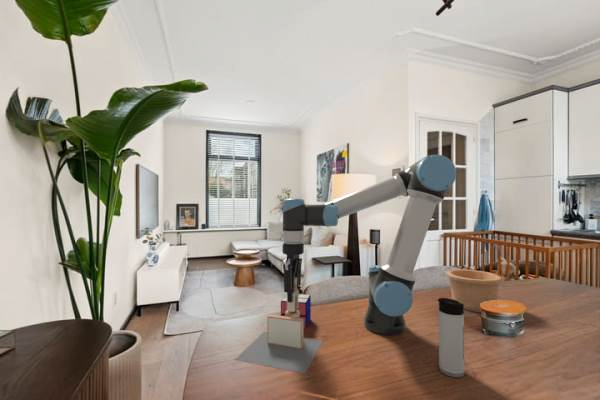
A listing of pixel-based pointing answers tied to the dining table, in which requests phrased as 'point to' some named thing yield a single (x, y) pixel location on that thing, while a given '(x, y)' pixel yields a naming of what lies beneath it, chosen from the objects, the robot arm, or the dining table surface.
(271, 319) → the tile
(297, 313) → the tamper
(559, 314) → the dining table surface
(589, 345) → the dining table surface
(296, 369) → the slate mat
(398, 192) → the robot arm
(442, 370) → the travel mug
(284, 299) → the puzzle cube
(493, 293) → the pottery
